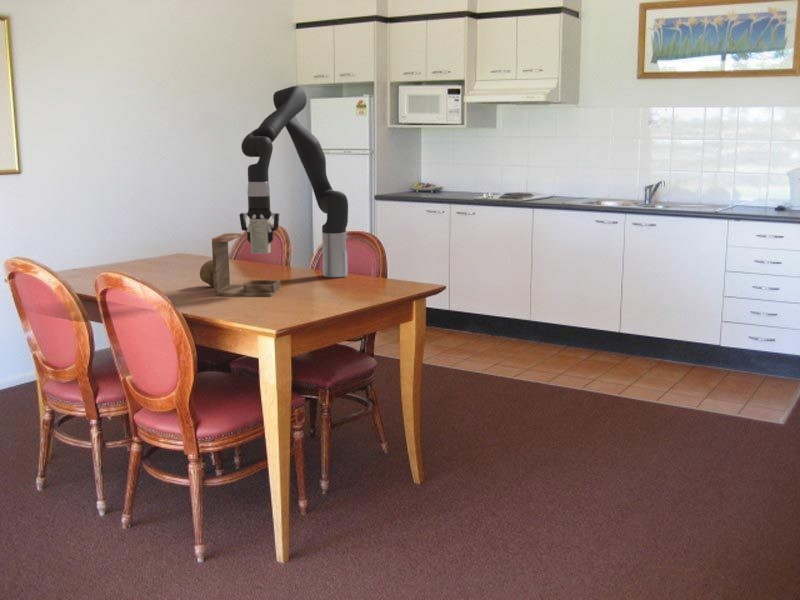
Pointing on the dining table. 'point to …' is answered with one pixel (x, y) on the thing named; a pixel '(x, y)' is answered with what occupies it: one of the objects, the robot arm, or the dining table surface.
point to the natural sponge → (207, 273)
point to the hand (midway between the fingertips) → (260, 242)
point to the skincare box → (259, 236)
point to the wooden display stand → (223, 278)
